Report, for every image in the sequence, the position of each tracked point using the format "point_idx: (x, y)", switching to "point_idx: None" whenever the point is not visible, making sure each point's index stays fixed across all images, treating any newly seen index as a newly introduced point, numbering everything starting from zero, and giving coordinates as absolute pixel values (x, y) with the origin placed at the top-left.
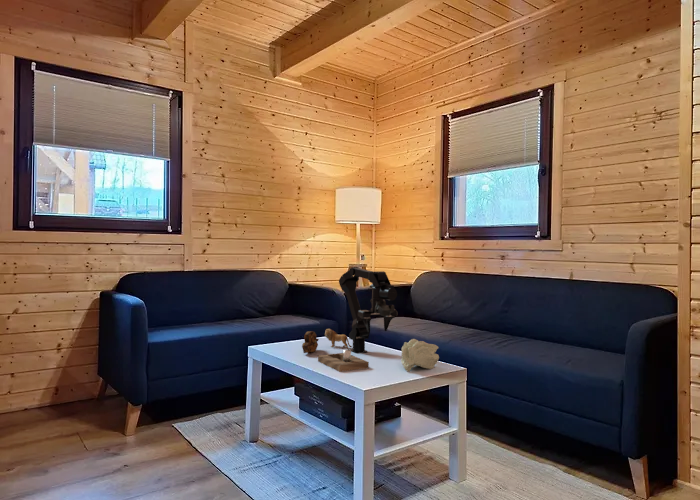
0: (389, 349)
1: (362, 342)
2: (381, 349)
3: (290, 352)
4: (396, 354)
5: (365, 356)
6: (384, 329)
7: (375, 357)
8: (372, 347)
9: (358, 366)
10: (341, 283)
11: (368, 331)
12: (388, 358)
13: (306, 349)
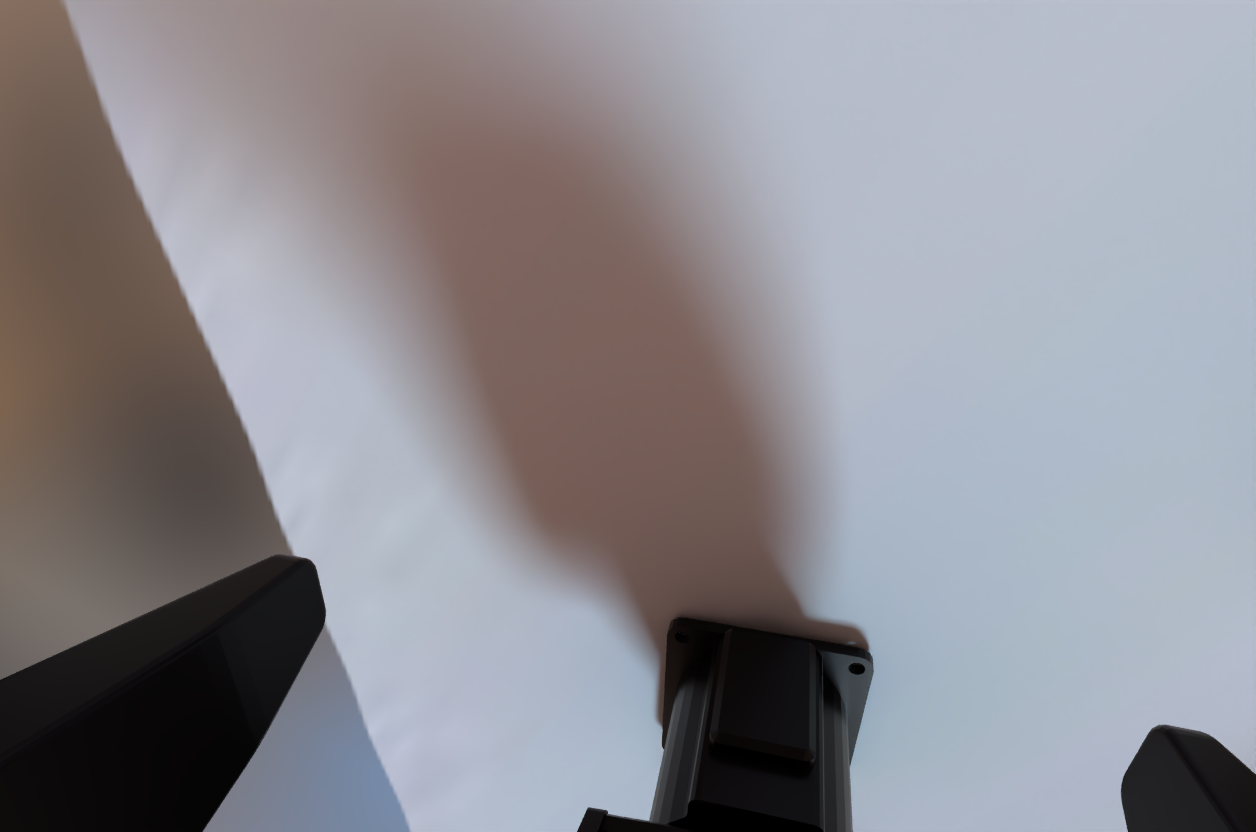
0: None
1: (749, 765)
2: (409, 619)
3: None
4: (340, 302)
5: (892, 443)
6: (300, 666)
7: (786, 301)
8: (463, 732)
9: None
10: None
11: (1221, 789)
12: (615, 113)
13: None
